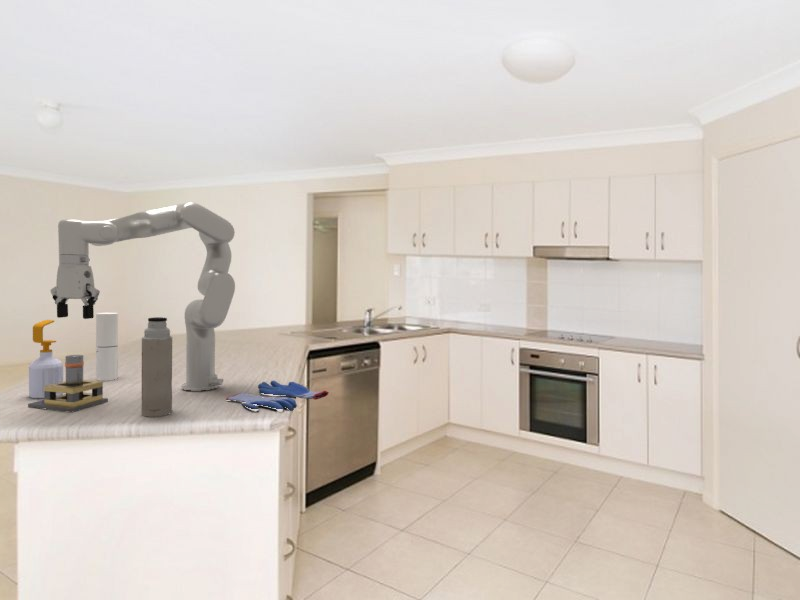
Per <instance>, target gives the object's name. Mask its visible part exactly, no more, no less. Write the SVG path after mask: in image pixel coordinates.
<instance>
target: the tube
mask: <svg viewBox="0 0 800 600" xmlns="http://www.w3.org/2000/svg"><path fill="white" fill-rule="evenodd" d="M64 364H65V365H64V366H65V381H66V386H70V387H75V386H79V385H83V380H84V364H85V362H84V355H83V354H70V355H66V356H65V363H64ZM83 392H84V391H83ZM83 392H79V399H80V398H83ZM65 394H66V399H67V393H65Z"/></svg>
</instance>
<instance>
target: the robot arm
mask: <svg viewBox="0 0 800 600" xmlns="http://www.w3.org/2000/svg"><path fill="white" fill-rule="evenodd" d="M57 229H58V231H57V232H58V235H57V236H58V266H57V273H56V285H55V286H54V287H52V288H51V289H50V295H51V296H52V299H53V300H54V303H55V305H56V317H57V318H58V319H59V318H67V317H68V316H69V304H68V303H67V302H68V300H69V299H71V300H72V299H73V300H81V301H82V303H83V304H84V305H82V318H83V320H86V319H87V320H89V319H94V317H95V315H94V306H95V305H96V302H97V301H98V299H99V296H100V290H98V289H97V288H96V287H95V279H94V273H93V269H92V266H91V265H90V255H89V254H90V253H89V252H90V251H89V248H90V247H89V245H92V246H95V247H102V246H110V245H113V244H115V243H118V242H123V241H128V240H134V239H144V238H150V237H156V236H161V235H165V234H168V233H169V234H170V233H173V232H179V231H182V230H183V231H184V230H187V229H193V230H195V231H197V232H198V237H199V239H200V240H201V242H202V243H203V244H204V246H205V249H206V257H205V260H204V264H203V267H202V270H201V273H200V276H199V279H198V281H197V290H198V292H199V293H200V295H202V296H203V298H201V299H200V298H199V299H195V300H193V301H191V302H189V303H188V304H187V306H186V307H185V309H184V324H185V329H186V330H185V333H186V334H185V335H186V347H185V348H186V349H185V350H186V351H185V353H186V357H185V358H186V359H185V360H186V361H185V362H186V363H185V371H186V372H185V373H186V374H185V376H186V377H185V383H182V384H181V389H182V390H183V389H184V391H186V390H191V391H190V392H202V391H201V390H206V391H211V390H210V389H212V390H215V389H214V388H216V389H218V388H219V387H220V386H222V385H223V382H224V379H223V378H218V374H215V373H216V334H215V329H217V328H218V327H220V326H221V325H222V324H224V322H225V320H226V318H227V315H228V313H229V309H230V306H231V305H232V301H233V298H234V294H235V292H236V291H235V290H236V284H235V283H236V282H235V279H234V278H233V276H232V275H231V274H230V273H229V270H230V267H231V266H230V265H231V264H232V250H231V248H230V247H231V246H230V244H229V243H230V242H232V240H233V239H234V237H235V228H234V226H233V225H232V223H231V222H229V221H228V220H227V219H225V218H224V217H222V216H221V215H218V214H217V213H215V212H214V211H212V210H210V209H209V208H207V207H204V206H203V205H201V204H199V203H196V202H193V201H189V202H184V203H179V204H174V205H169V206H164V207H159V208H151V209H148V210H143V211H139V212H135V213H133V214H128V215H126V216H121V217H117V218H111V219H108V220H107V219H106V220H97V221H96V220H95V221H94V220H91V221H90V220H89V221H88V220H87V221H85V220H82V219H81V220H80V219H70V218H69V219H68V218H65V219H61V220H60V221H58V225H57ZM217 387H218V388H217Z"/></svg>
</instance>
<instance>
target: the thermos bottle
mask: <svg viewBox="0 0 800 600" xmlns="http://www.w3.org/2000/svg"><path fill="white" fill-rule="evenodd" d="M147 321H148V322H147V328H145V329H144V332H143V334H144V336H142V337H141V416H143V417H146V416H148V417H150V418H153V416H158V417H162V416H161V415H164V416H167V415H166V414H168V415H170V414H172V412H173V336H171V335H170V334H171V330H170V328H168V327H167V325H168V324H167V321H168V317H161V316H160V317H159V316H158V317H156V316H155V317H148V319H147ZM169 413H170V414H169ZM148 417H147V418H148Z"/></svg>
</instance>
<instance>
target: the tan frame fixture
mask: <svg viewBox="0 0 800 600" xmlns="http://www.w3.org/2000/svg"><path fill="white" fill-rule="evenodd" d="M103 383H104V382H103V381H98V380H90V379H83V385H79V386H75V387H70V386H66V380H65V381H63V382H60V383H56V384H51V385H46V386H44V398H43V400H38V401H33V402H30V403H28V404H27V407H28V408H31V407H37V408H36V409H40V408H46V409H45V410H48V409H53V410H52V411H56V410H60V411H59V412H65V411H69V412H68V413H73V412H72V411H74V412H77V411H79V409H81V410H83V408H84V409H86V408H87V407H88V408H90V407H93V406H97V405H101V404H105V403H107V402H109V399H108V398H109V397H108V398H107V397H104V395H103V393H104V390H103V389H104V384H103ZM90 390H91V392H86V391H90ZM56 392H59V393H63V394H62V395H60V396H56ZM79 392H83V398H80V399H79ZM66 393H67V399H66ZM88 408H87V409H88ZM76 410H77V411H76Z"/></svg>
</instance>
